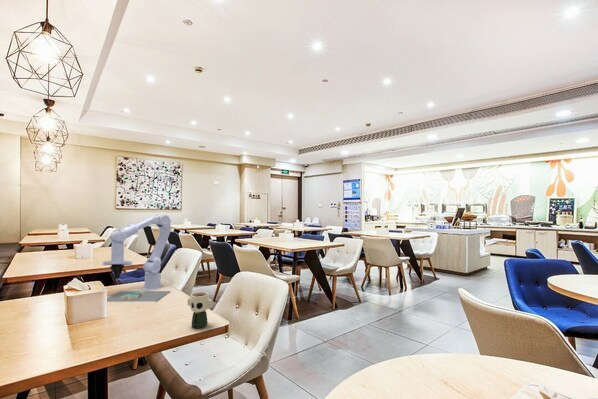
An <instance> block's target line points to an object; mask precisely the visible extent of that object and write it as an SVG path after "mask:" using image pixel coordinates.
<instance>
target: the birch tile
mask: <svg viewBox="0 0 598 399" xmlns="http://www.w3.org/2000/svg"><path fill="white" fill-rule="evenodd" d="M130 291H131V292H129V293H127V294H125V295H123V296H121V300H136V299H138V298H139V297H141V296H143V295H144V291H145V290H130Z"/></svg>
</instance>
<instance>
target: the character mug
mask: <svg viewBox="0 0 598 399" xmlns="http://www.w3.org/2000/svg"><path fill="white" fill-rule="evenodd" d="M187 306H189V307H190V311H191V312H192V319H191V327H192V328H197V329H198V328H204V327H206V326H207V325H208V323H209V321H208V316H207V311H208V310H209V308H212V307H213V300H212V299H211V298H210V294H209V292H208V291H196V292H193V293H191V294H190V297H188V298H187ZM195 326H196V327H195Z"/></svg>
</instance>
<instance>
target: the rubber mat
mask: <svg viewBox="0 0 598 399" xmlns="http://www.w3.org/2000/svg"><path fill="white" fill-rule="evenodd" d="M131 291H132V290H125V291H124V290H120V291H118V292H116V293H115V294H112V295H110V296H109V297H106V298H107V302H109V303H112V302H122V303H123V302H126V303H127V302H129V303H130V302H155V303H157V302H159V301H160V300H162V299H163V298H164V297H166V296H167V295H169V294H170V293H171V291H170V290H143V291H144V295H143V296H141V297H139V298H138V299H136V300H121V296H123V295H125V294H127V293H129V292H131ZM161 298H162V299H161Z"/></svg>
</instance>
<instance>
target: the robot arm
mask: <svg viewBox="0 0 598 399" xmlns="http://www.w3.org/2000/svg"><path fill="white" fill-rule="evenodd" d="M171 222H172V220H171V218H170V216H169V215H167V214H160V213H159V214H158V213H157V214H154V215H152V216H149V217H148V218H146V219H144V220H142V221H141V222H139V223H137V224H133V223H131V224H129V223H128V224H127V226H125V227H123V228H119V229H118V230H115V231H113V232H111V234H110V236H109V240H110V241H111V250H110V251H111V258H110V259H111V260H107V261H106V260H105V261H102V266H109V268H110V270H111V271H112V274H113V276H114V279H115V280H118V279H120V278H121V274H122V271H123V270H124V267H125V266H132V265H133V261H132V260H125V259H124V254H125V247H124V246H125V243H124V242H125V240H126V239H128V238H130V237H132V236H134V235H136V234H137V233H138V232H139V230H141V229H144V228H146V227H149V226H150V225H155V226H156V227H158V229H159V230H160V232H159V234H158V237H157V239H156V242H155V244H154V246H153V249H152V251H151V253H150V254H151V255H150V256H149V257H148V258H147V260H146V261H145V262H144V263H143V264H142V265H143V266H142V269H143V271H144V287H143V288H141V291H157V289H159V288H161V287H162V286H163V285H162V284H161V282H162V281H161V279H162V277H161V273H160V270H161V264H162V259H161V258H162V254H163V253H164V249H165V247H166V244H167V242H168V239H169V236H170V234H171V230H172V227H171Z"/></svg>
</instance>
